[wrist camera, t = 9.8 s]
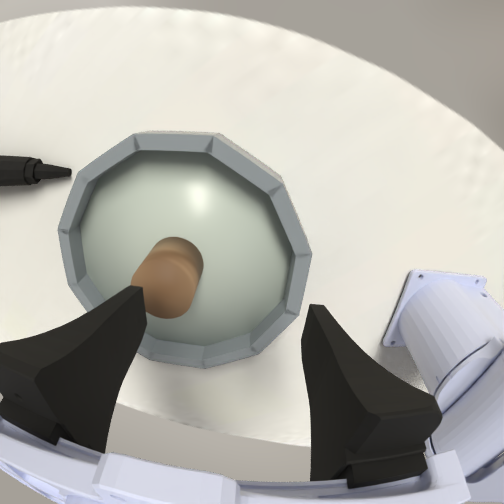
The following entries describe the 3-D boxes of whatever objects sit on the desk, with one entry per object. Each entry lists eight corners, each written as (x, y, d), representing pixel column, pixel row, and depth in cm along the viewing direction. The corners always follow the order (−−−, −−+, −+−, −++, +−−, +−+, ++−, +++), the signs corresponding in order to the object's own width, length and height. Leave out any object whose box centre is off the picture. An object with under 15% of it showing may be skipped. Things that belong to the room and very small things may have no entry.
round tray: (322, 145, 18) (330, 148, 16) (282, 355, 26) (283, 375, 24) (70, 134, 18) (50, 138, 16) (95, 328, 26) (85, 345, 23)
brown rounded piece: (211, 248, 21) (200, 278, 17) (194, 293, 22) (183, 327, 19) (157, 228, 20) (136, 253, 16) (145, 274, 22) (126, 304, 18)
